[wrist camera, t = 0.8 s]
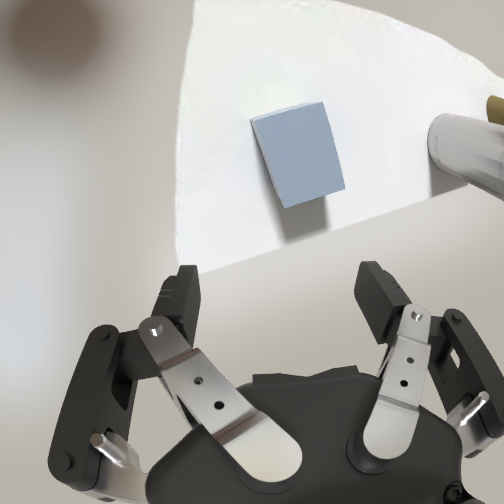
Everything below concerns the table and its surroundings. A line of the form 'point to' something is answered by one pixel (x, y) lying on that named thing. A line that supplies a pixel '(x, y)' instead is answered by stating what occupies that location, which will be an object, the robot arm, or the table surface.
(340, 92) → the table surface
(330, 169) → the blue-grey block
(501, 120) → the cork
